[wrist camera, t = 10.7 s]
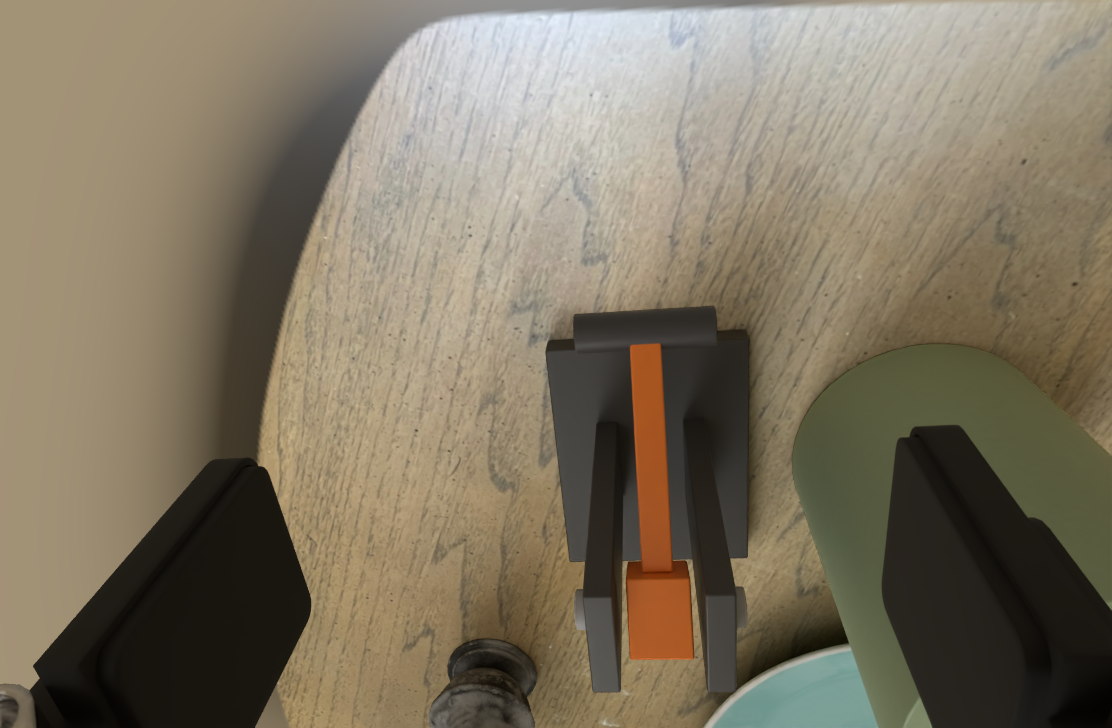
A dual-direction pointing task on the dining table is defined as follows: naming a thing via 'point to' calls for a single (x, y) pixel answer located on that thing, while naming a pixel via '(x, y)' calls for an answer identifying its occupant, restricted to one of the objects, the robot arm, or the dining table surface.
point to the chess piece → (486, 688)
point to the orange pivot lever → (652, 469)
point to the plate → (801, 695)
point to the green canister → (867, 471)
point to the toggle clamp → (693, 476)
